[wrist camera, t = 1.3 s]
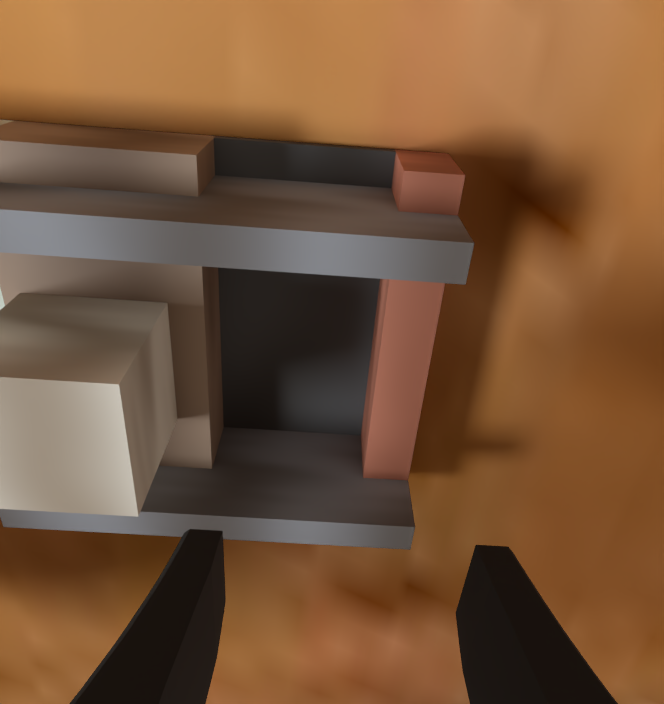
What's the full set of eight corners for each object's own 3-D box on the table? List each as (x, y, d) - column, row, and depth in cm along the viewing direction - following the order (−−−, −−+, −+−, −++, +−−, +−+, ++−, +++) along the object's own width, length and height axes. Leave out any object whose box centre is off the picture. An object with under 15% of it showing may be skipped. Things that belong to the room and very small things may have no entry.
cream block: (47, 410, 17) (-24, 507, 14) (19, 292, 15) (-71, 372, 12) (177, 418, 18) (138, 516, 14) (167, 302, 16) (119, 384, 12)
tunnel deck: (-77, 445, 21) (-169, 539, 18) (-210, 103, 15) (-394, 133, 11) (394, 473, 22) (405, 570, 18) (448, 153, 16) (483, 198, 12)
